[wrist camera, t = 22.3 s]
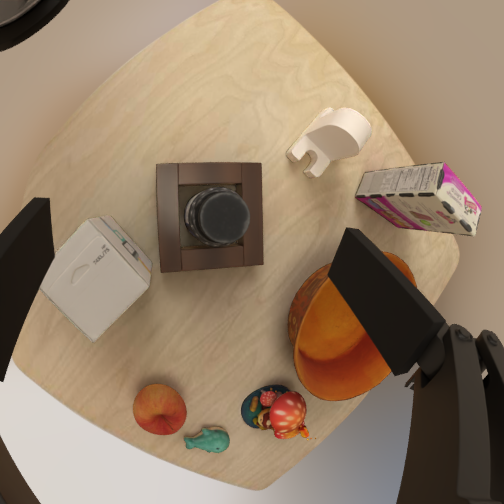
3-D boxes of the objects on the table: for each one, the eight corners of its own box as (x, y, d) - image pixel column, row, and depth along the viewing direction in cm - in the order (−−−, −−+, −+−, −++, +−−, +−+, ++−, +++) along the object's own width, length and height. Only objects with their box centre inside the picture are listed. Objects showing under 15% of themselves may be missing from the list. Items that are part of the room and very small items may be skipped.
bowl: (394, 261, 47) (437, 272, 38) (353, 373, 48) (386, 399, 39) (292, 223, 41) (331, 228, 31) (247, 363, 42) (271, 401, 32)
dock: (160, 267, 36) (161, 272, 33) (156, 167, 34) (156, 163, 31) (256, 260, 40) (263, 264, 37) (254, 165, 38) (261, 162, 35)
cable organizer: (346, 134, 41) (389, 120, 32) (311, 179, 40) (353, 174, 31) (322, 109, 39) (362, 89, 30) (284, 154, 39) (321, 140, 29)
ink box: (109, 307, 35) (92, 346, 24) (65, 259, 32) (30, 281, 21) (154, 262, 36) (152, 286, 25) (109, 212, 33) (87, 215, 22)
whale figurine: (228, 443, 43) (233, 457, 40) (186, 449, 41) (189, 464, 37) (225, 420, 42) (231, 434, 39) (180, 426, 40) (183, 441, 37)
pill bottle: (239, 224, 38) (269, 231, 28) (198, 248, 37) (213, 264, 27) (217, 182, 37) (239, 172, 26) (174, 205, 36) (179, 204, 25)
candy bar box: (406, 202, 47) (483, 206, 31) (397, 228, 47) (475, 239, 31) (363, 169, 43) (445, 159, 27) (352, 197, 43) (436, 197, 27)
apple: (137, 368, 37) (135, 401, 29) (187, 378, 39) (194, 411, 32) (131, 407, 37) (130, 442, 30) (178, 415, 40) (184, 449, 32)
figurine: (232, 390, 42) (248, 424, 34) (289, 369, 44) (313, 398, 36) (250, 438, 44) (266, 471, 36) (299, 419, 47) (320, 448, 39)
